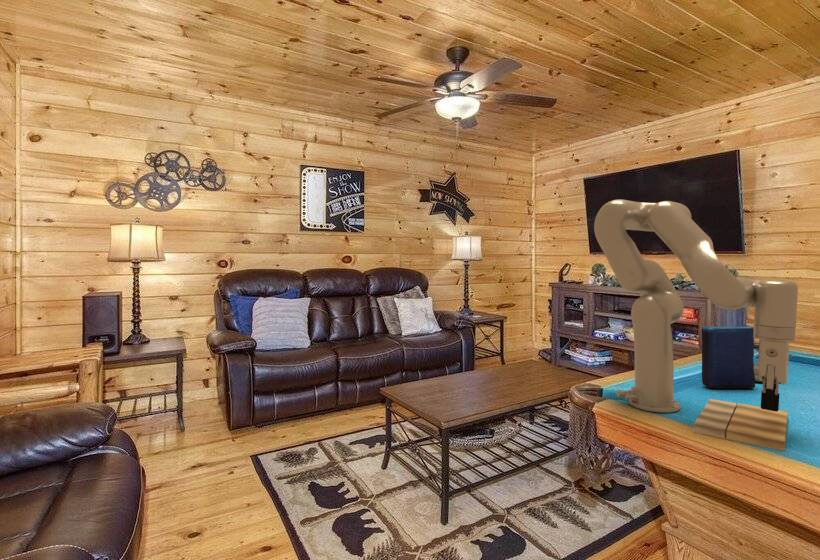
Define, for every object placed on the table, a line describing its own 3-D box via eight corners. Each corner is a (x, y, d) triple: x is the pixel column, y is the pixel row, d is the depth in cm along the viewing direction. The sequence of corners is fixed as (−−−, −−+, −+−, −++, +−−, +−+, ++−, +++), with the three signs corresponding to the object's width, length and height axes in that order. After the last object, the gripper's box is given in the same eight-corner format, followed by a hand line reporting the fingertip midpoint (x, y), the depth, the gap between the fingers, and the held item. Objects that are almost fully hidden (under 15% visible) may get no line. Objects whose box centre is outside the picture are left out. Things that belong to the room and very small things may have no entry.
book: (747, 385, 138) (747, 323, 137) (759, 390, 132) (759, 326, 132) (699, 385, 139) (699, 324, 138) (709, 390, 134) (709, 326, 133)
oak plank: (784, 451, 91) (784, 441, 91) (726, 438, 98) (726, 430, 98) (787, 419, 109) (787, 411, 109) (738, 410, 116) (738, 403, 116)
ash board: (724, 438, 98) (724, 429, 98) (693, 432, 102) (693, 423, 102) (736, 410, 116) (736, 403, 116) (710, 406, 120) (709, 398, 120)
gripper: (794, 339, 93) (789, 422, 94) (795, 330, 104) (791, 404, 105) (750, 335, 98) (746, 414, 99) (755, 326, 109) (752, 397, 110)
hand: (769, 409), depth 102 cm, fingers closed
